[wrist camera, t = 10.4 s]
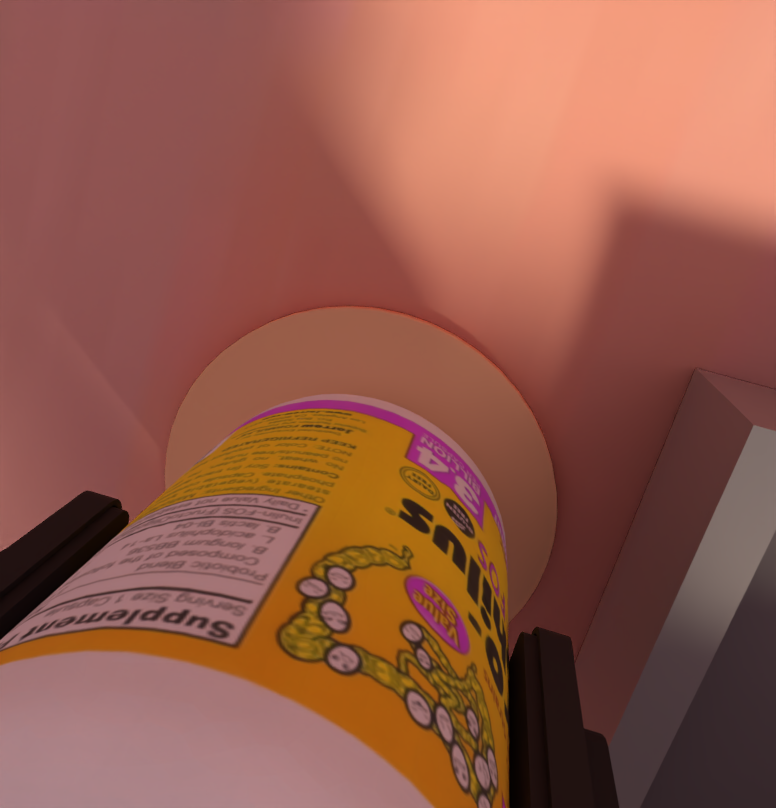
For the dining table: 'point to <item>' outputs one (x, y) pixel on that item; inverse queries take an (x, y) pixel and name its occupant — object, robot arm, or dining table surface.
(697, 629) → the case
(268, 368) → the pad
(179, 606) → the supplement bottle
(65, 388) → the dining table surface
